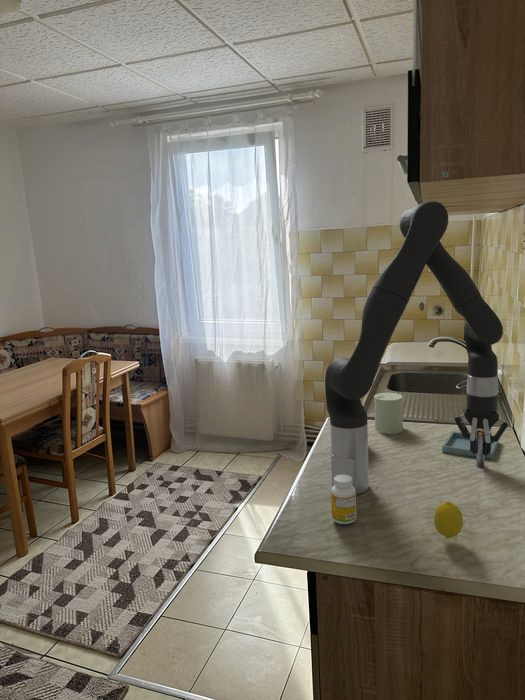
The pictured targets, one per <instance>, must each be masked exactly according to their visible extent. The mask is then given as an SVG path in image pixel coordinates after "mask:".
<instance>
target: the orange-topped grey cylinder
mask: <svg viewBox="0 0 525 700" xmlns="http://www.w3.org/2000/svg"><path fill="white" fill-rule="evenodd" d="M484 450H485V434H484V430H483V429H478V430H477V453H476V458H475V459H476V462H475V463H476V465H475V466H476V467H477V468H479V469H483V468H485V460H486V459H485V456H484Z"/></svg>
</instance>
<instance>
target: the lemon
mask: <svg viewBox="0 0 525 700" xmlns="http://www.w3.org/2000/svg"><path fill="white" fill-rule="evenodd" d="M463 519H464V518H463V513H462V512H461V509H460V507H458V505H456V504H455V503H453V502H451V501H448V500H447V501H445V502H441V503H440V504H438V505H437V507H436V508H435V510H434V516H433V523H434V527H435V530H436V531H437V532H438V533H439V534H440V535H441V536H443V537H445V538H446V539H450V538H454V537H456V536H458V535H459V533H461V531H462V528H463V526H464V525H463V524H464V521H463Z"/></svg>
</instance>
